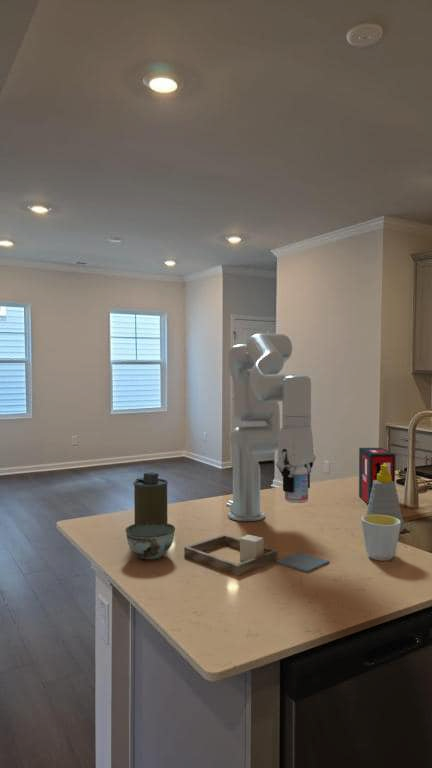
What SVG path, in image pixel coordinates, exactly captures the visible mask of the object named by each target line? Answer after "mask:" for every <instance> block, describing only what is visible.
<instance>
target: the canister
mask: <svg viewBox="0 0 432 768" xmlns="http://www.w3.org/2000/svg"><path fill="white" fill-rule="evenodd" d="M159 476H160V474H159V473H156V472H154V471H150V472H145V473H143V477H141V478H140V477H139V478H136V480H135V481H134V482H133V483H132V484H133V486H134V488H133V489H134V492H133V493H134V494H133V495H134V502H133V503H134V524H137V523H144V522H163V523H168V484H169V481H168V480H167V479H163V478H159Z"/></svg>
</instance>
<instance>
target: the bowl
mask: <svg viewBox="0 0 432 768" xmlns="http://www.w3.org/2000/svg"><path fill="white" fill-rule="evenodd" d="M124 530H125V533H126V540H127V545H128V546H129V548H130V550H131V551H132V552H133V553H134V554H135V555H137V556H138V558H139V559H140V560H141V561H144V562H153V561H154V562H155V561H158V560H160V559H161V558H162V557H163V555H164V554H165V553H167V552H168V550H170V548H171V547H172V544H173V542H174V537H175V531H176V526H174V524H171V523H169V522H167V523H163V522H144V523H137V524H135V523H134V524H131V525H129V526H127V527H126V528H125V529H124Z"/></svg>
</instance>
